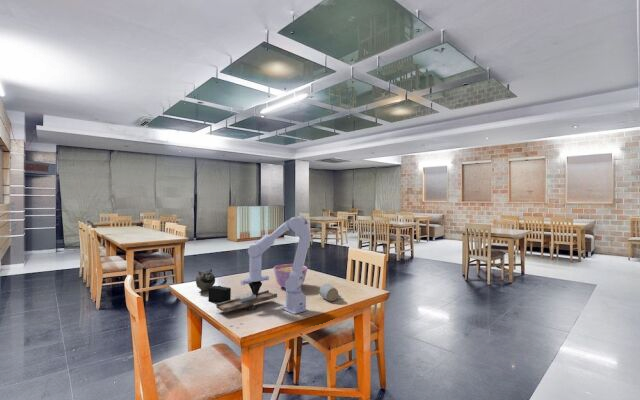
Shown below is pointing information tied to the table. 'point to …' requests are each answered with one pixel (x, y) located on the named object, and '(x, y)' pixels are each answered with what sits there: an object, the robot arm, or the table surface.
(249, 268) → the robot arm
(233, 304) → the beam
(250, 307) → the pivot stand
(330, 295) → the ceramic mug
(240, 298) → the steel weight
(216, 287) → the digital camera
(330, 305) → the table surface
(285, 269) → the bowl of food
